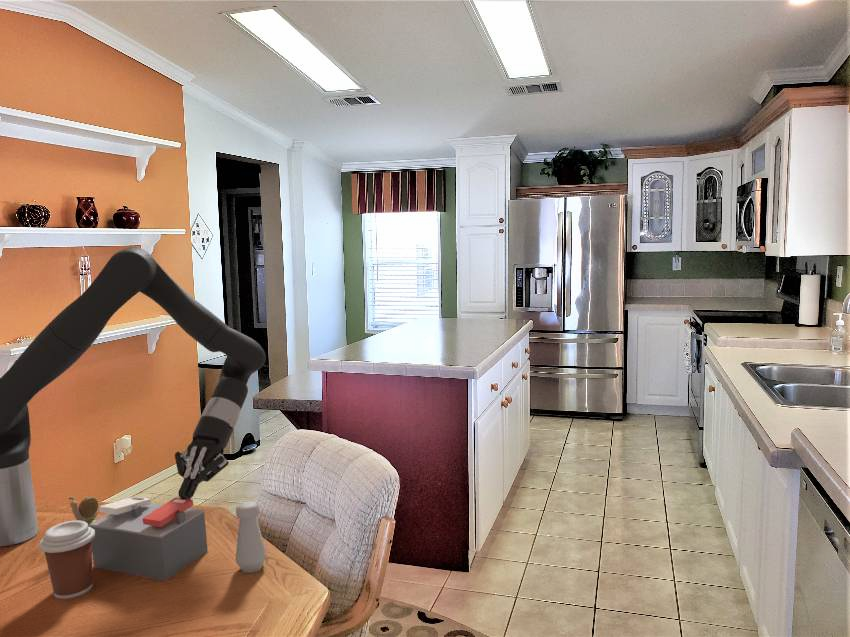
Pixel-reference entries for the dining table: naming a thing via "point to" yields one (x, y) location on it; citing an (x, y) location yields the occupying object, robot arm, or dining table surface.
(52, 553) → the coffee cup
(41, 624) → the dining table surface
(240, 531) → the salt shaker
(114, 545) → the switch box
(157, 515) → the red rocker
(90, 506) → the snail figurine
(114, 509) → the white rocker
